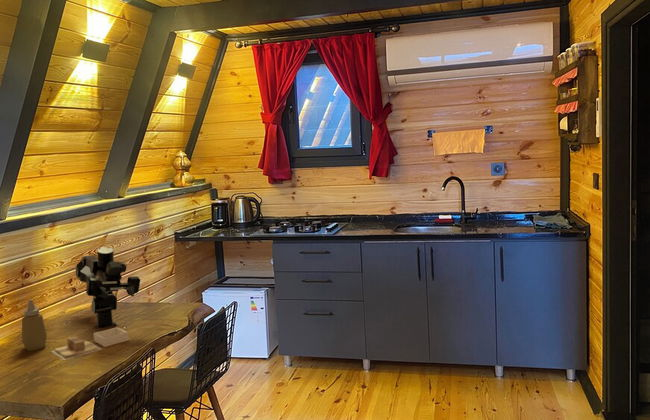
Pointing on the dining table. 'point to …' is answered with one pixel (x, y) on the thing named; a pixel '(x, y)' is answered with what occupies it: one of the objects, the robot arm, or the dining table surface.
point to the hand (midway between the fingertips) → (120, 295)
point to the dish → (111, 336)
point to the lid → (75, 347)
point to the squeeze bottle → (33, 328)
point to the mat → (73, 356)
